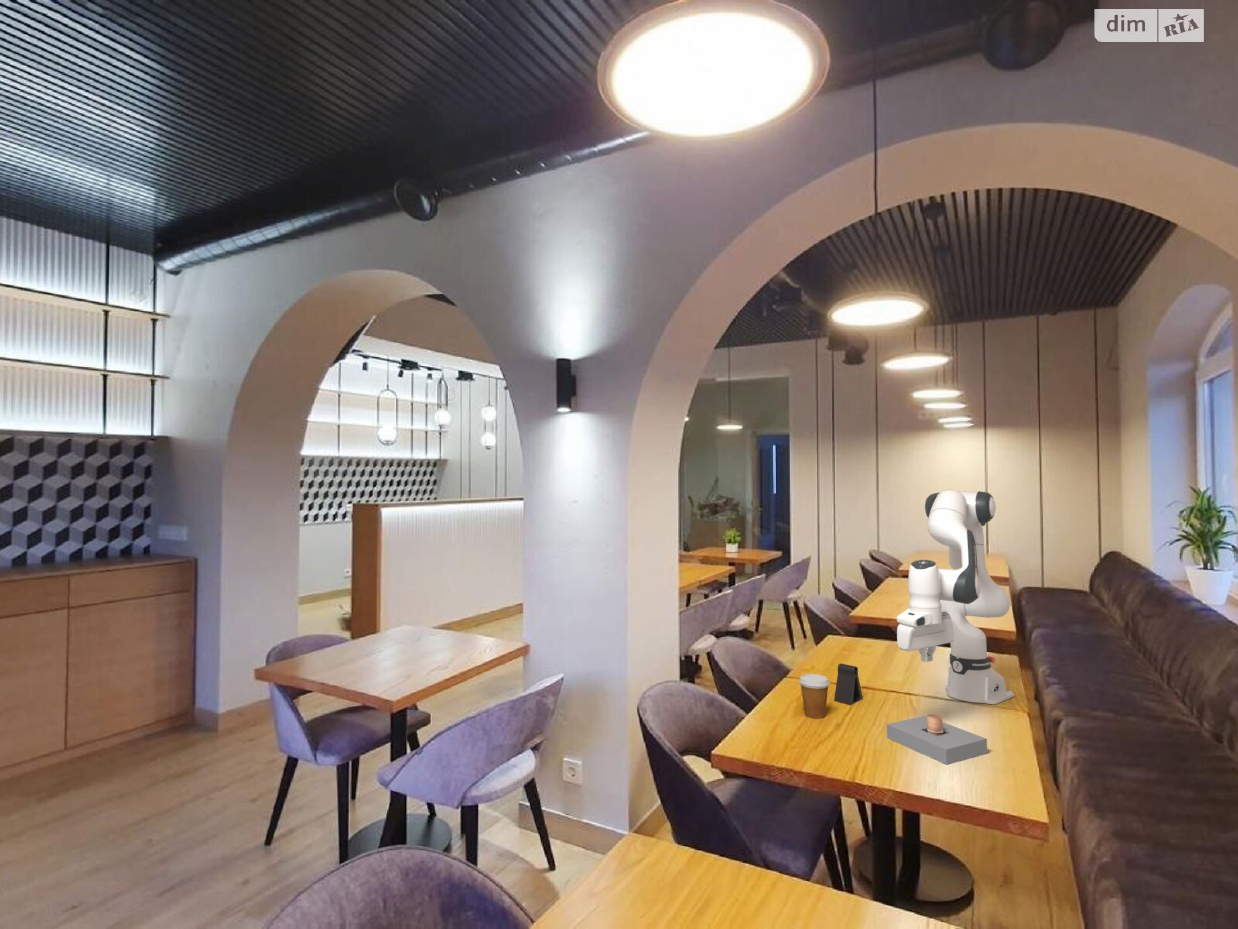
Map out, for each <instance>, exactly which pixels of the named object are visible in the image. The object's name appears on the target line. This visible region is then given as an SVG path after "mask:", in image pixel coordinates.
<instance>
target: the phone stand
mask: <svg viewBox="0 0 1238 929" xmlns="http://www.w3.org/2000/svg"><path fill="white" fill-rule="evenodd" d="M863 699H864V697H863V693H862V688H861V682H860V678H859V668H858V666H854V665H850V664H845V663H838V666H837V677H836V684H835V692H834V699H833V701H834V702H835V703H837V702H838V703H840V704H844V705H848V706H852V705H854V704H857V703H858V702H860V701H863Z"/></svg>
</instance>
